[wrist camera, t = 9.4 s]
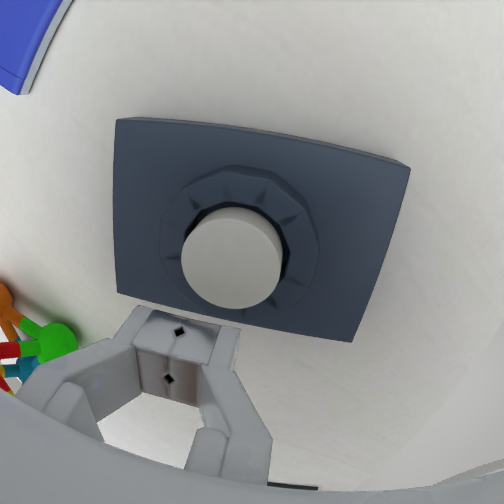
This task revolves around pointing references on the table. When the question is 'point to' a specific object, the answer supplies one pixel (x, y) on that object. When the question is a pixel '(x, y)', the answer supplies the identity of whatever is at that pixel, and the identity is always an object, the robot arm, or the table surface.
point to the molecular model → (29, 342)
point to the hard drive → (26, 39)
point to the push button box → (262, 202)
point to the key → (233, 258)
